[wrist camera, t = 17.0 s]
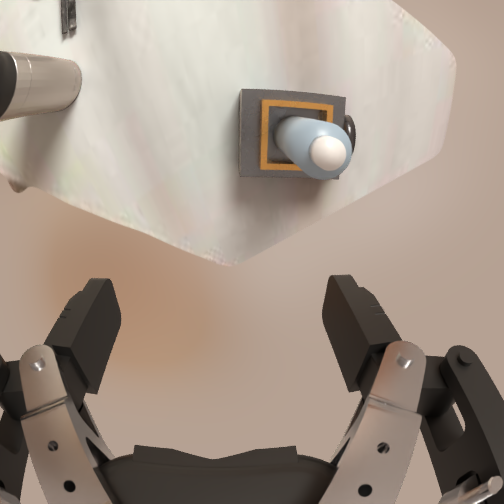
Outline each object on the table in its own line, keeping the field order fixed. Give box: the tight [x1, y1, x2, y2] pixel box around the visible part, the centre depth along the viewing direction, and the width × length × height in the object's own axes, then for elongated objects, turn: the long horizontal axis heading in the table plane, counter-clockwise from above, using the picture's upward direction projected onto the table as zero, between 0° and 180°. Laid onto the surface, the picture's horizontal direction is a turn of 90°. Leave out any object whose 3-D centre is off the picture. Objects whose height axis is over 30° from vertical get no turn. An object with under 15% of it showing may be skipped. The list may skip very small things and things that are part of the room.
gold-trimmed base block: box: [239, 89, 356, 179], centre depth 38 cm, size 16×12×8 cm
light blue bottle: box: [274, 116, 352, 180], centre depth 30 cm, size 6×6×15 cm
